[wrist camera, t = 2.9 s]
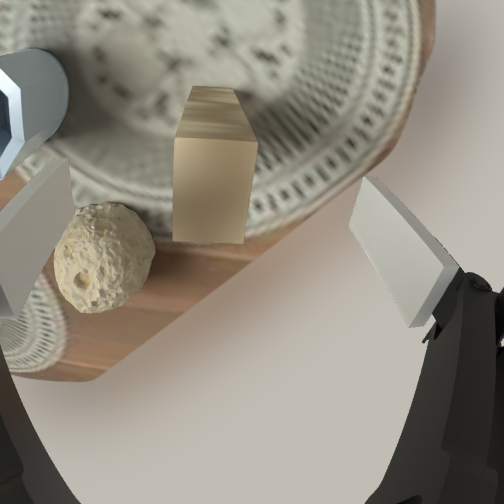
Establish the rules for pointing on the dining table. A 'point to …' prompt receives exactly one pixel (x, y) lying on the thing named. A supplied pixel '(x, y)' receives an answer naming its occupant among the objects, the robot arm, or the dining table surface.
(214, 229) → the tan bar
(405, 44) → the dining table surface
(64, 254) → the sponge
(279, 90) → the dining table surface
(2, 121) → the jar
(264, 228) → the dining table surface
